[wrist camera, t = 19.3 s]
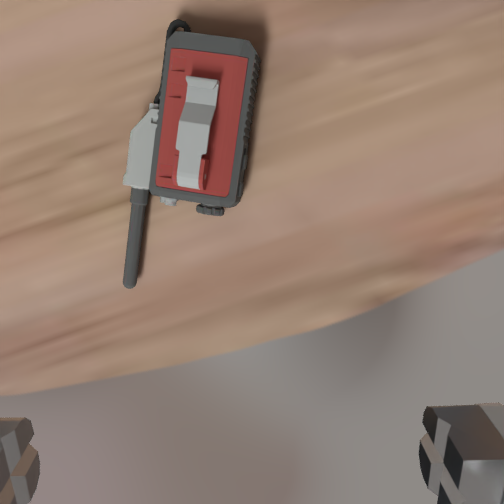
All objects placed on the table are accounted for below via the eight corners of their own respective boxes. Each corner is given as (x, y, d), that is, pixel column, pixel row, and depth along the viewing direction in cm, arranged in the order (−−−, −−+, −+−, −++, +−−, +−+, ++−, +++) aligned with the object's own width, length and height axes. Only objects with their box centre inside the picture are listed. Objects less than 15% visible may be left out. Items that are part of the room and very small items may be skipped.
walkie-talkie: (151, 22, 36) (122, 282, 39) (128, 0, 31) (98, 294, 35) (268, 36, 35) (228, 302, 38) (261, 15, 30) (216, 317, 34)
